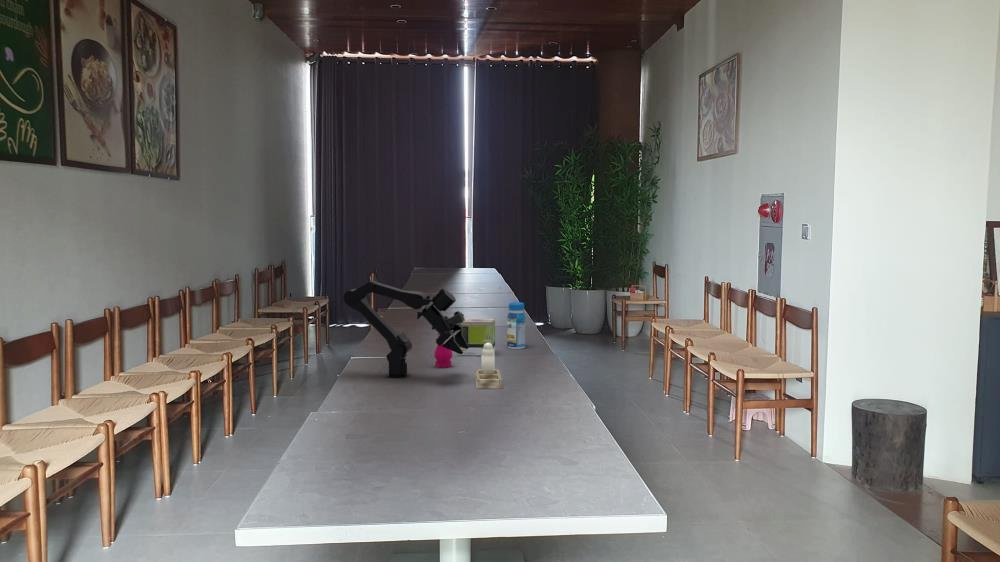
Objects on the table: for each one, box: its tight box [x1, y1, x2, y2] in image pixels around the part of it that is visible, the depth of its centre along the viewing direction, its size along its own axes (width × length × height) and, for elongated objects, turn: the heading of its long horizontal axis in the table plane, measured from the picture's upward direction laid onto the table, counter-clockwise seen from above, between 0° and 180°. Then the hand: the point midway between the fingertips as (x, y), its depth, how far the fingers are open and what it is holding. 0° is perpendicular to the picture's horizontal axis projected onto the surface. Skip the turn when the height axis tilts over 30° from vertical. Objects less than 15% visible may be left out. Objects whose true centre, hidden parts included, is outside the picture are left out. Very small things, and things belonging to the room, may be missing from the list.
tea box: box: [457, 318, 496, 357], centre depth 321 cm, size 15×10×15 cm, turn 84°
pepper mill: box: [433, 331, 453, 368], centre depth 297 cm, size 7×7×20 cm
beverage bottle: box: [506, 301, 527, 350], centre depth 335 cm, size 8×8×20 cm
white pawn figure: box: [480, 343, 496, 374], centre depth 274 cm, size 5×5×13 cm
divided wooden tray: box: [474, 368, 504, 390], centre depth 271 cm, size 9×17×3 cm, turn 4°
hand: (465, 351), depth 275 cm, fingers open, 9 cm apart
